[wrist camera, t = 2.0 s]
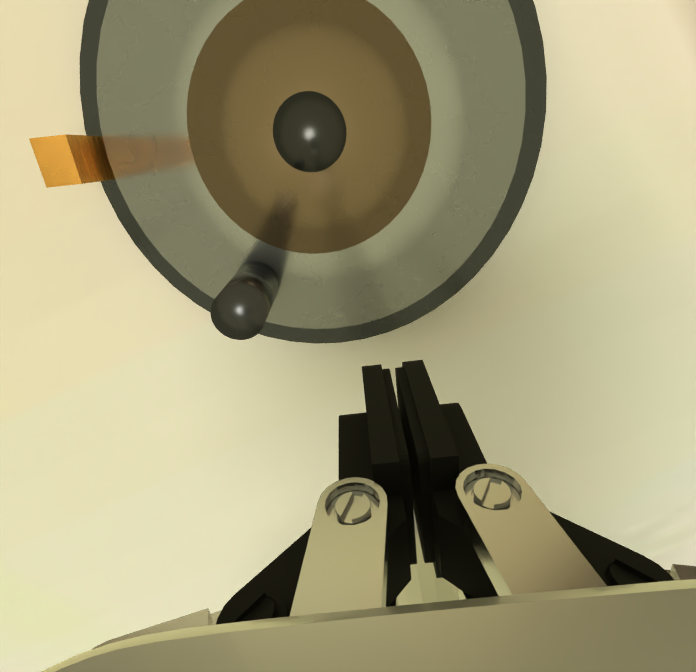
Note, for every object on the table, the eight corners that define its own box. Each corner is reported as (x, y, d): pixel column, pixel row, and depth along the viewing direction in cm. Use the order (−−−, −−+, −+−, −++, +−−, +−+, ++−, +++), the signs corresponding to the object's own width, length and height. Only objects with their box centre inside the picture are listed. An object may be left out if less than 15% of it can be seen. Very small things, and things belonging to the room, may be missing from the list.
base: (606, 189, 25) (674, 199, 20) (285, 397, 30) (274, 448, 25) (375, -329, 17) (390, -533, 12) (-7, 78, 22) (-110, 57, 17)
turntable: (573, 182, 23) (658, 195, 17) (287, 373, 28) (271, 438, 22) (364, -261, 17) (379, -503, 10) (30, 84, 21) (-99, 58, 15)
